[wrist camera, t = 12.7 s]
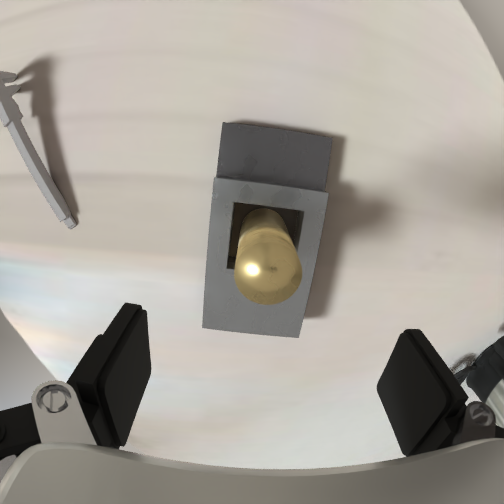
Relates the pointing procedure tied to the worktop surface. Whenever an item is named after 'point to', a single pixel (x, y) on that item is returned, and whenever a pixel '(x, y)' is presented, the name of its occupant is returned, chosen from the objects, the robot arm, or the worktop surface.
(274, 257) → the pin
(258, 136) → the grey socket block
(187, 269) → the worktop surface
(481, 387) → the milk frother
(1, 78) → the caliper
